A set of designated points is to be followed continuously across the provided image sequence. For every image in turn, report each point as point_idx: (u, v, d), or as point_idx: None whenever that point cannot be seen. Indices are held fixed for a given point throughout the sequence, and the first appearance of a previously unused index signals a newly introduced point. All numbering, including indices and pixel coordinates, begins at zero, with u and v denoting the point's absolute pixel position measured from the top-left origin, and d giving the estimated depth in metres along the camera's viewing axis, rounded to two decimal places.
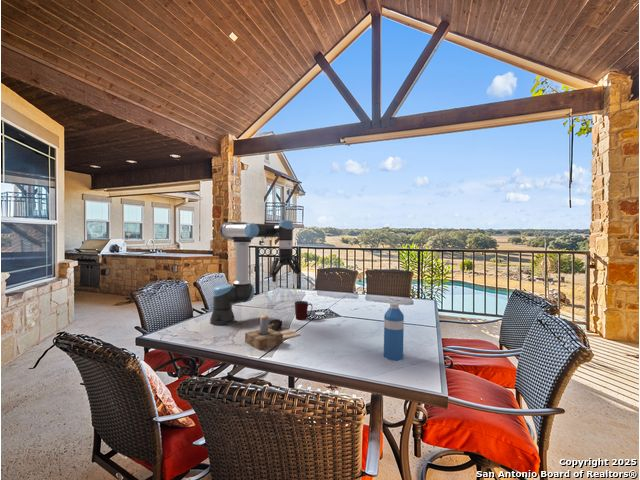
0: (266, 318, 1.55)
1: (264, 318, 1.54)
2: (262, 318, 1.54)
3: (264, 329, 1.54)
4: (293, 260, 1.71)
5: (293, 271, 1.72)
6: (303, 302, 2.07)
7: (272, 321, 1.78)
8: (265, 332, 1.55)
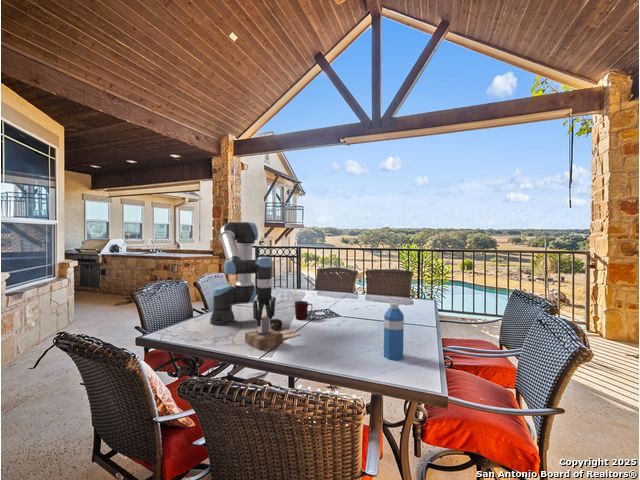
0: (266, 318, 1.55)
1: (264, 318, 1.54)
2: (262, 318, 1.54)
3: (264, 329, 1.54)
4: (271, 301, 1.60)
5: None
6: (303, 302, 2.07)
7: (272, 321, 1.78)
8: (265, 332, 1.55)
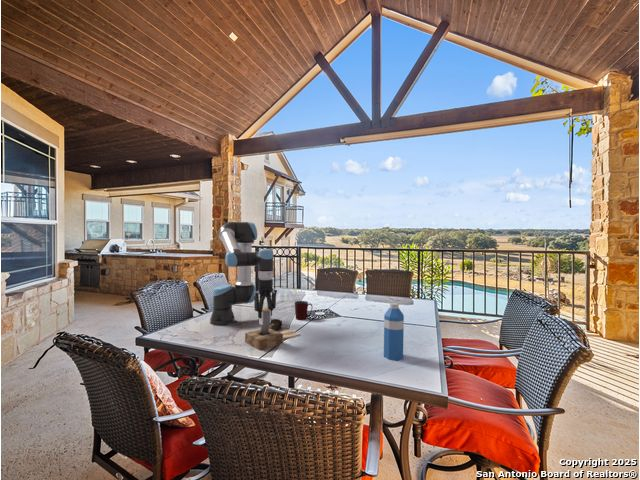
0: (267, 311, 1.55)
1: (265, 311, 1.55)
2: (263, 311, 1.55)
3: (265, 322, 1.55)
4: (272, 293, 1.60)
5: None
6: (303, 302, 2.07)
7: (272, 321, 1.78)
8: (266, 325, 1.55)
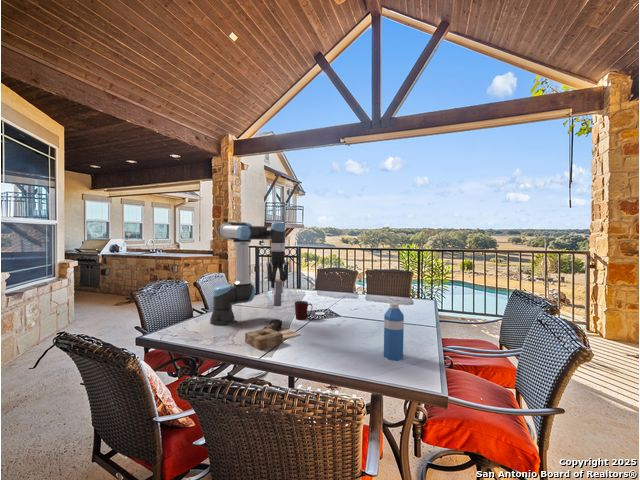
0: (279, 281, 1.63)
1: (278, 281, 1.62)
2: (276, 281, 1.62)
3: (278, 292, 1.62)
4: (284, 265, 1.67)
5: (280, 277, 1.66)
6: (303, 302, 2.07)
7: (272, 321, 1.78)
8: (279, 295, 1.62)
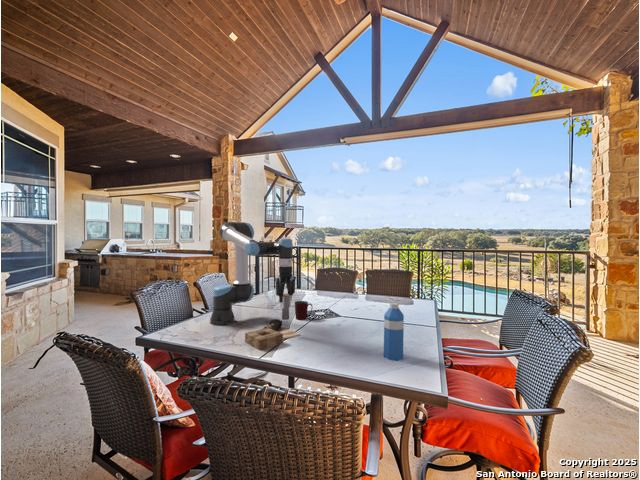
0: (287, 296, 1.68)
1: (286, 295, 1.67)
2: (284, 295, 1.67)
3: (286, 306, 1.67)
4: (291, 279, 1.73)
5: None
6: (303, 302, 2.07)
7: (272, 321, 1.78)
8: (287, 308, 1.68)
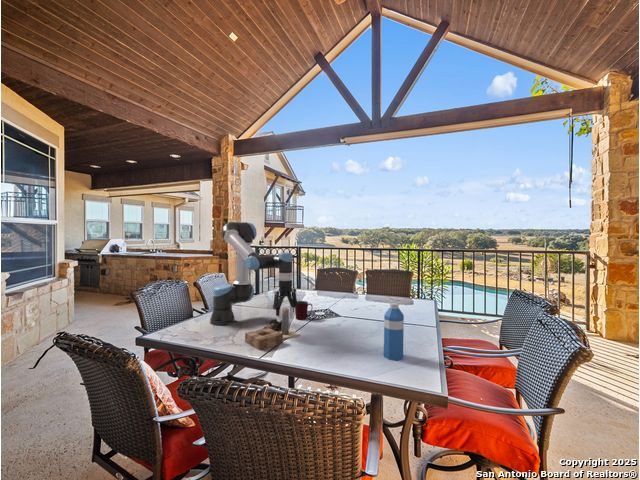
0: (287, 311, 1.68)
1: (285, 311, 1.67)
2: (283, 311, 1.67)
3: (286, 321, 1.68)
4: (292, 292, 1.73)
5: (290, 304, 1.73)
6: (303, 302, 2.07)
7: (272, 321, 1.78)
8: (286, 323, 1.68)
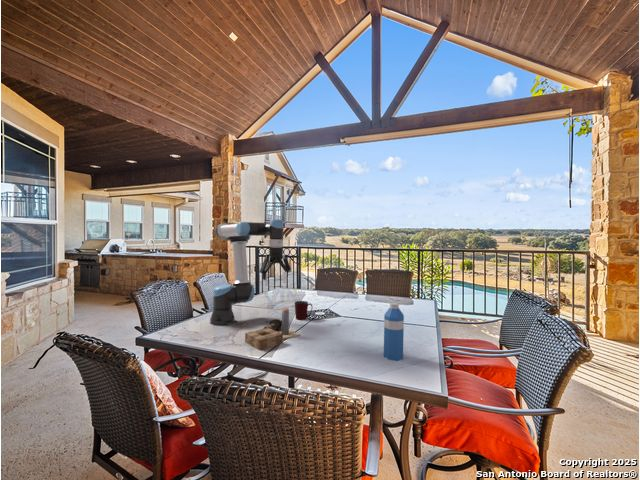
0: (287, 311, 1.68)
1: (285, 311, 1.67)
2: (284, 311, 1.68)
3: (286, 321, 1.68)
4: (283, 258, 1.74)
5: (283, 269, 1.75)
6: (303, 302, 2.07)
7: (272, 321, 1.78)
8: (286, 323, 1.68)
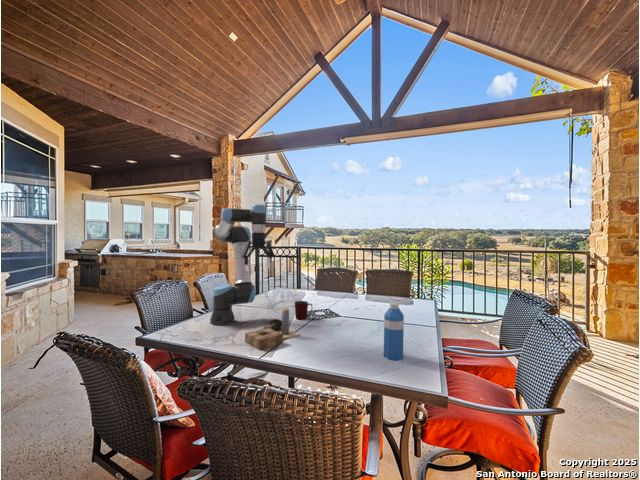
0: (287, 311, 1.68)
1: (286, 311, 1.67)
2: (284, 311, 1.68)
3: (286, 321, 1.68)
4: (266, 244, 1.73)
5: (267, 255, 1.75)
6: (303, 302, 2.07)
7: (272, 321, 1.78)
8: (286, 323, 1.68)
